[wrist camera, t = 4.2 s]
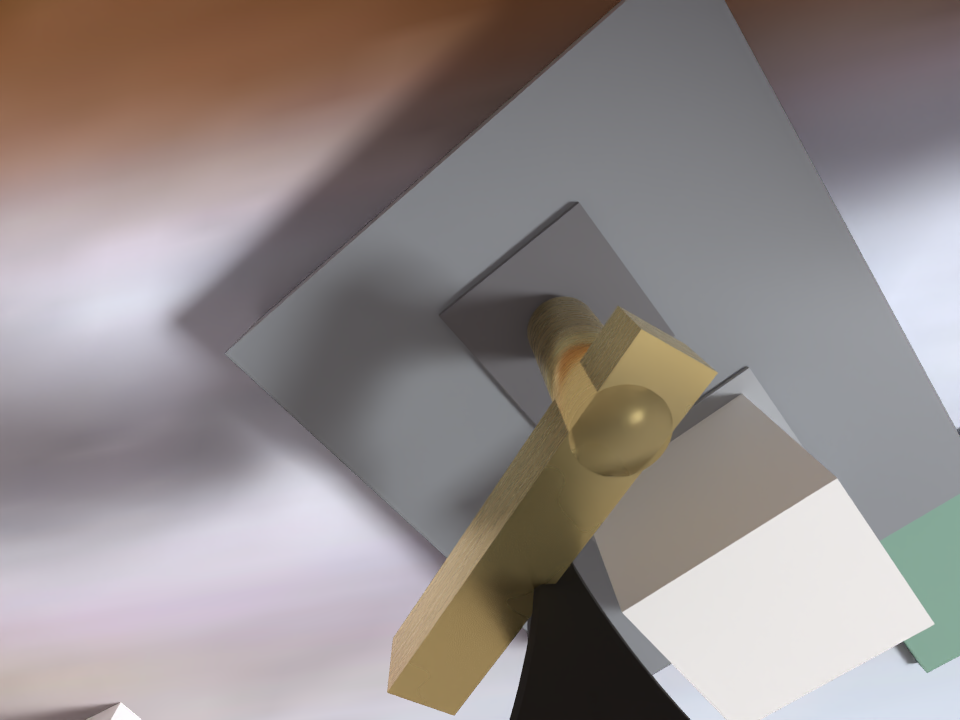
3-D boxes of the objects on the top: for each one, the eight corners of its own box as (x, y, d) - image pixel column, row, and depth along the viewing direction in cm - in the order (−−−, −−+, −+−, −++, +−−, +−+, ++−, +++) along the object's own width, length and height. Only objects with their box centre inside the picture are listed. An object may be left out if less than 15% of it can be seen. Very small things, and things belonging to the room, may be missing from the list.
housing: (649, -25, 13) (697, -62, 11) (915, 435, 18) (989, 484, 16) (257, 321, 16) (221, 356, 13) (587, 639, 21) (606, 709, 18)
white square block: (741, 393, 14) (837, 478, 11) (827, 515, 16) (934, 623, 12) (582, 502, 15) (621, 612, 12) (677, 607, 17) (738, 732, 13)
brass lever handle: (627, 290, 13) (722, 375, 8) (455, 545, 15) (458, 716, 11) (568, 256, 12) (635, 325, 8) (401, 523, 15) (382, 690, 10)
